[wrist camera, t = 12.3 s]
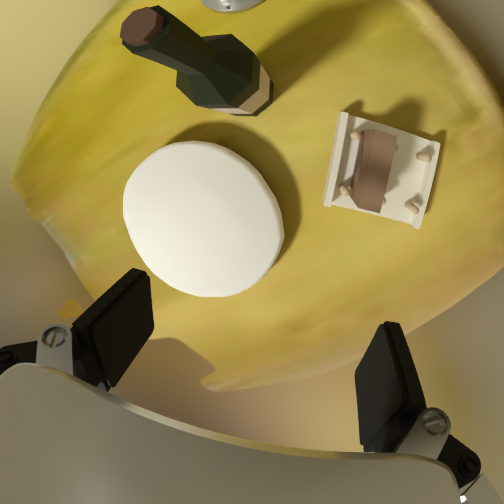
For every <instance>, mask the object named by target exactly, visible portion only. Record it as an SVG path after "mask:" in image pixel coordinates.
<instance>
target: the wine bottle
mask: <svg viewBox="0 0 504 504" xmlns="http://www.w3.org/2000/svg"><path fill="white" fill-rule="evenodd" d="M120 37H121V38H122V39H123V41H122V44H123V45H124V46H125V47H126V48H127V49H128V50H130V51H131V52H132V53H133V54H136V55H139V56H141V57H144V58H147V59H150V60H152V61H155V62H158V63H160V64H163V65H165V66H168V67H170V68H173V69H175V70H177V80H176V87H177V88H179V89H180V90H181V91H182V92H183V93H184V94H185V95H186V96H187V97H188V98H189V99H190V100H191V101H192V102H193V103H194V104H195V105H196V106H201V107H205V108H209V109H213V110H217V111H221V112H224V113H228V114H232V115H235V116H258V115H259V114H260V113H261V112H262V111H263V110H264V109H266V108H267V107H268V106H269V105H270V104H272V97H273V83H272V81H271V79H270V78H269V76H268V74H267V73H266V71H265V70H264V68H263V66H262V65H261V63H260V62H259V60H258V58H257V57H256V55H255V54H254V52H252V51H251V50H250V49H249V48H248V47H247V46H245V45H244V44H243V43H242V42H241V41H239V40H238V39H237V38H236V37H234V36H233V35H232V34H225V35H214V36H204V37H200V36H199V35H198V34H197V33H195V32H194V31H193V30H192V29H190V28H189V27H188V26H187V25H185V24H184V23H183V22H181V21H180V20H179V19H177V18H176V17H175V16H173V15H172V14H171V13H169V12H168V11H166V10H165V9H163V8H162V7H160V6H159V5H157V6H153V7H150V8H149V7H145V8H142V9H138V10H135V11H133V12H132V13H131V14H130V15H129V16H128V17H127V18H126V19H125V21H124V22H123V23H122V27H121V33H120Z"/></svg>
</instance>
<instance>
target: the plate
mask: <svg viewBox="0 0 504 504" xmlns="http://www.w3.org/2000/svg"><path fill="white" fill-rule="evenodd" d="M123 217H124V220H125V223H126V226H127V229H128V231H129V234H130V237H131V240H132V242H133V244H134V246H135V248H136V250H137V252H138V253H139V255H140V256H141V258H142V259H143V261H144V262H145V264H146V265H147V266H148V267H149V269H150V270H151V271H152V272H153V273H154V274H155V275H156V276H158V277H159V278H160V279H162V280H163V281H164V282H166V283H167V284H168V285H170V286H172V287H174V288H176V289H178V290H180V291H182V292H185V293H189V294H192V295H195V296H199V297H226V296H230V295H235V294H238V293H240V292H242V291H244V290H246V289H248V288H250V287H252V286H253V285H254V284H256V283H257V282H258V281H259V280H260V279H262V278H263V277H264V276H265V275H266V273H267V272H268V271H269V270H270V268H271V267H272V266H273V264H274V262H275V260H276V258H277V257H278V255H279V253H280V250H281V247H282V243H283V240H284V237H285V235H284V228H283V221H282V214H281V210H280V208H279V205H278V202H277V200H276V197H275V196H274V194H273V193H272V191H271V189H270V188H269V186H268V185H267V183H266V182H265V180H264V178H263V177H262V175H261V174H260V173H259V172H258V171H257V170H256V169H255V168H254V167H253V166H252V165H251V163H250V162H248V161H247V160H245V159H244V158H242V157H241V156H239V155H238V154H236V153H235V152H233V151H231V150H230V149H228V148H226V147H223V146H220V145H218V144H215V143H211V142H203V141H196V140H193V141H184V142H175V143H172V144H169V145H167V146H164V147H162V148H160V149H158V150H157V151H155V152H154V153H153V154H151V155H150V156H149V157H147V158H146V159H145V160H144V161H143V162H142V163H141V164H140V165H139V166H138V167H137V168H136V169H135V171H134V172H133V174H132V175H131V177H130V178H129V180H128V181H127V184H126V187H125V191H124V194H123Z"/></svg>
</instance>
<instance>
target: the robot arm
mask: <svg viewBox="0 0 504 504" xmlns="http://www.w3.org/2000/svg"><path fill="white" fill-rule="evenodd" d="M200 1H201V2H202V3H203V4H204V5H205V6H206V7H207V8H209V9H211V10H214V11H217V12H222V13H234V12H241V11H245V10H248V9H250V8H253V7H255V6H257V5H259V4H260V3H261V2H263V1H264V0H200ZM229 8H230V9H229ZM72 325H73V327H72V328H71V329H69V328H68V327H67V326H65V325H62V324H53V325H50V326H48V327H46V328H44V329H43V330H42V331H41V333H40V334H39V337H38V341H32V342H27V343H20V344H14V345H8V346H4V347H2V348H1V349H0V504H502V500H501V498H500V496H499V495H498V493H497V492H496V490H495V489H494V487H493V486H492V484H491V483H490V481H489V480H488V479H487V477H486V476H485V474H484V473H482V474H481V475H480V470H481V462H480V459H479V457H478V456H477V454H476V453H474V452H473V451H472V450H470V449H469V448H468V447H466V446H465V445H464V444H462V443H461V442H460V441H458V440H457V439H456V438H454V437H453V436H452V435H450V434H449V433H450V429H451V423H450V420H449V417H448V416H447V414H446V413H445V412H443V411H442V410H441V409H438V408H434V407H430V408H427V407H426V402H425V398H424V395H423V391H422V387H421V384H420V381H419V378H418V374H417V371H416V368H415V365H414V363H413V359H412V356H411V353H410V350H409V347H408V345H407V342H406V339H405V336H404V334H403V331H402V328H401V326H400V324H399V323H396V322H389V321H385V322H384V324H380V325H379V327H378V329H377V331H376V333H375V335H374V337H373V339H372V341H371V343H370V345H369V347H368V349H367V351H366V352H365V354H364V356H363V358H362V360H361V362H360V364H359V365H358V367H357V369H356V371H355V385H356V394H357V406H358V420H359V436H360V444H361V445H363V447H364V452H375V453H359V452H357V453H356V452H336V451H320V450H310V449H301V448H292V447H285V446H278V445H272V444H266V443H261V442H256V441H250V440H245V439H241V438H236V437H232V436H228V435H224V434H220V433H216V432H212V431H209V430H205V429H201V428H198V427H195V426H191V425H188V424H185V423H182V422H179V421H176V420H173V419H170V418H167V417H165V416H162V415H159V414H156V413H154V412H151V411H148V410H146V409H143V408H141V407H138V406H136V405H134V404H132V403H129V402H127V401H125V400H122V399H120V398H118V397H116V396H114V395H111V394H109V393H107V392H108V391H109V389H110V388H111V387H115V386H116V384H117V383H118V382H119V380H120V379H121V377H122V375H123V374H124V373H125V371H126V370H127V368H128V367H129V365H130V364H131V363H132V361H133V360H134V358H135V357H136V355H137V354H138V353H139V351H140V350H141V348H142V347H143V345H144V344H145V343H146V341H147V340H148V338H149V337H150V336H151V334H152V332H153V330H154V320H153V310H152V299H151V286H150V277H149V276H148V275H147V273H146V272H145V271H143V270H139V269H135V268H132V269H131V270H129V271H128V272H127V273H126V274H125V275H124V276H123V277H122V278H120V279H119V280H118V281H117V282H116V283H115V284H114V285H113V286H112V287H110V288H109V289H108V290H107V291H106V292H105V293H104V294H103V295H102V296H101V297H100V298H98V299H97V300H96V301H95V302H94V303H93V304H92V305H91V306H90V307H89V308H88V309H87V310H86V311H85V312H84V313H83V314H82V315H81V316H80V317H79V318H77V320H75V321H74V323H72ZM97 387H98V388H97ZM99 388H100V389H99ZM101 389H102V390H101ZM103 390H104V391H103ZM105 391H106V392H105Z"/></svg>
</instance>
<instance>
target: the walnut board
mask: <svg viewBox="0 0 504 504" xmlns="http://www.w3.org/2000/svg"><path fill="white" fill-rule="evenodd" d="M396 140H397V136H395V135H391V134H388V133H385V132H382V131H378V130H375V129H373V130H362V131H361V138H360V140H359V145H358V150H357V156H356V161H355V166H354V171H353V175H352V180H351V185H350V189H349V190H350V193H349V196H350V197H351V199H352V200H353V202H354V203H355V204H356V206H357V207H358V208H360V209H365V210H369V211H373V212H376V213H380V211H381V207H382V203H383V200H384V196H385V192H386V187H387V183H388V179H389V174H390V170H391V165H392V160H393V156H394V150H395V145H396Z"/></svg>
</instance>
